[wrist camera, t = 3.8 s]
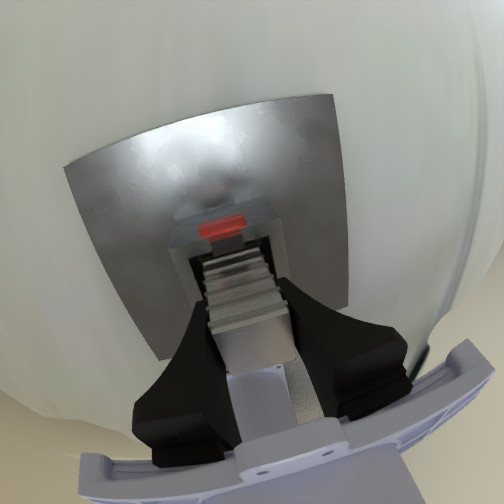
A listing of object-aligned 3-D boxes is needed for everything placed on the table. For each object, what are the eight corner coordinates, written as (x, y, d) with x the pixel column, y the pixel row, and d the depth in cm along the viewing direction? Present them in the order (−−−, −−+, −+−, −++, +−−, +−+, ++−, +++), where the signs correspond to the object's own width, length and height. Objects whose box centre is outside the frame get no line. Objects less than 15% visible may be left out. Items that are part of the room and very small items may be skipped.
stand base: (343, 299, 25) (372, 339, 20) (159, 352, 23) (157, 401, 18) (325, 94, 16) (373, 90, 11) (69, 164, 14) (27, 184, 10)
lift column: (259, 268, 19) (298, 359, 12) (213, 281, 18) (230, 379, 11) (249, 226, 17) (291, 309, 10) (199, 240, 17) (208, 333, 10)
